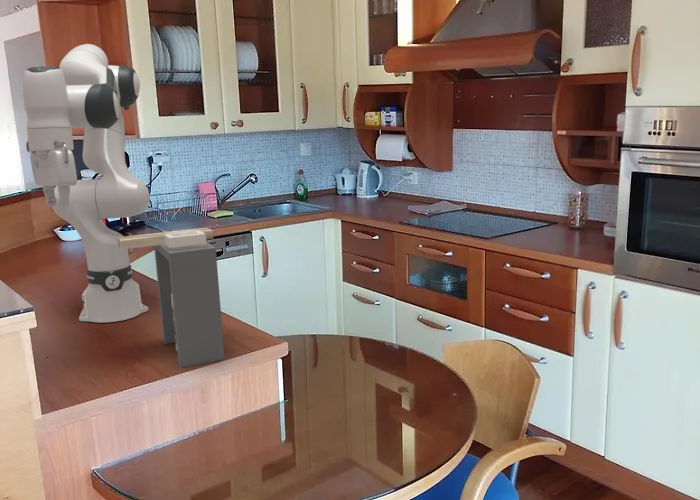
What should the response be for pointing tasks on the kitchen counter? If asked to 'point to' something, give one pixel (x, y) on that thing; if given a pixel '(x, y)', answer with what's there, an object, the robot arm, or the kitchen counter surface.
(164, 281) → the shelf
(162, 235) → the slat
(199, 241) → the ceramic dish
